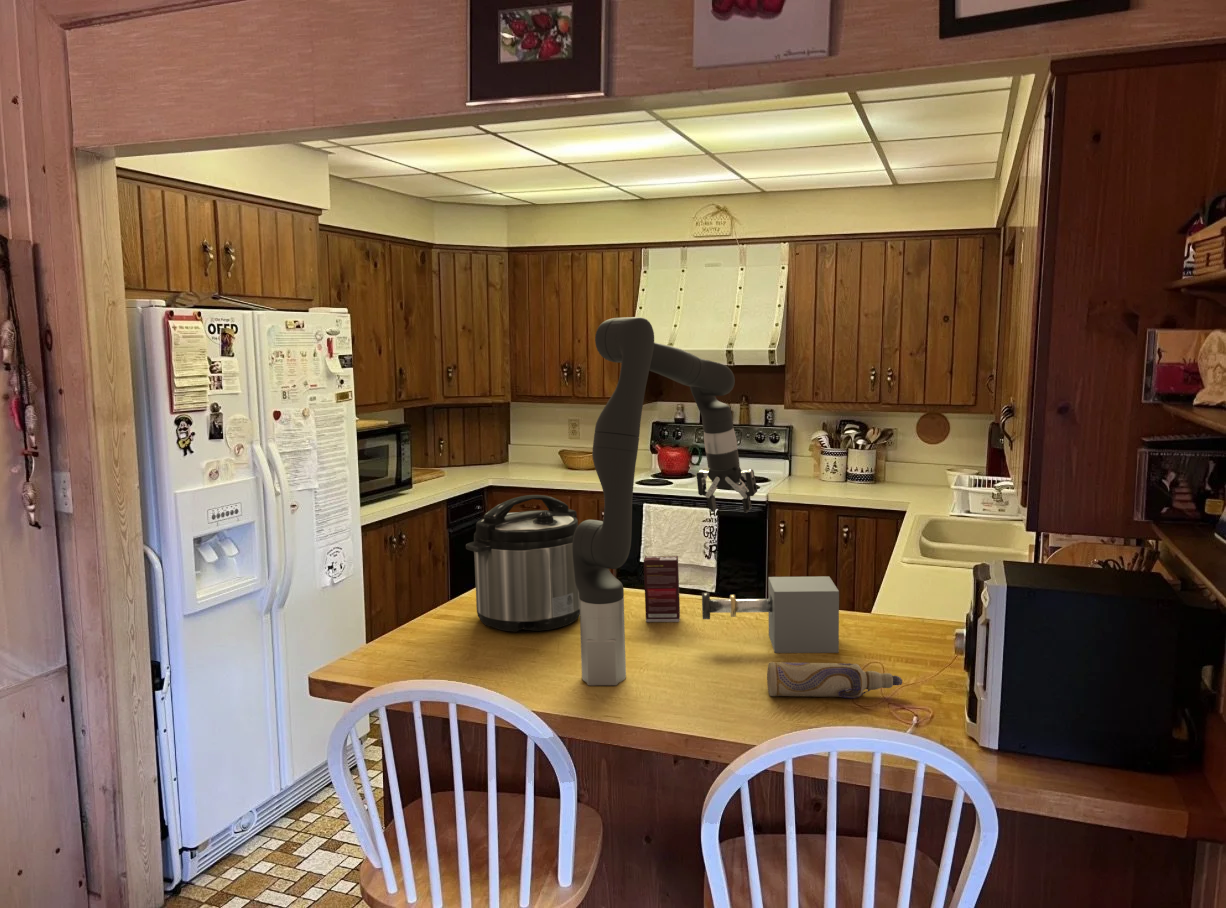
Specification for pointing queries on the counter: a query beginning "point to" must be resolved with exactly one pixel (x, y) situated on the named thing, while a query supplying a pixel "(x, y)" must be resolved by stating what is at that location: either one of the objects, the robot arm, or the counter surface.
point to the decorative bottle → (825, 679)
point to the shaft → (733, 605)
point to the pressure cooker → (526, 566)
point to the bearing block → (804, 614)
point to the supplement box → (661, 589)
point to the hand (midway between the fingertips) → (730, 511)
